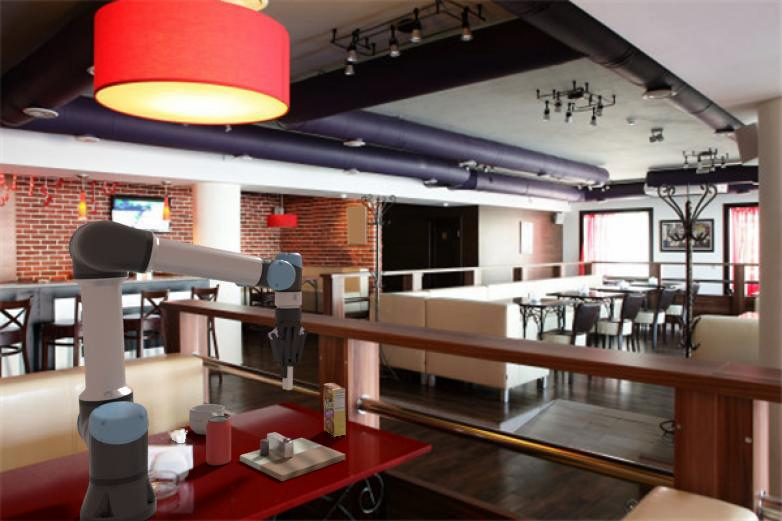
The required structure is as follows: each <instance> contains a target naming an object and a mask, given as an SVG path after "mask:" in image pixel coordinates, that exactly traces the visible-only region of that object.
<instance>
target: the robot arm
mask: <svg viewBox="0 0 782 521" xmlns="http://www.w3.org/2000/svg"><path fill="white" fill-rule="evenodd" d="M68 253H69V256H70V258H71V264H72V267H71V268H72V269H71V270H72V281H73V282H75V283H76V284H77V285H78V286H79V287H80V295H81V296H80V297H81V298H80V299H81V317H82V321H81V322H82V340H83V341H82V342H83V362H84V379H85V380H84V381H85V382H84V383H85V388H84V390H83V391H82V392H81V393H80V394H79V395H78V408H79V409H78V415H77V420H76V426H77V427H76V428H77V432H78V434H79V436H80V438H81V439H82V440H83V443H85V445H86V447H87V449H88V458H89V460H88V464H89V465H88V466H89V467H88V470H89V471H88V472H89V473H88V474H89V476H88V477H89V478H88V480H89V482H88V487H87V491H86V493H85V497H84V499H83V502H82V505H81V508H80V514H79V521H146V520H148V519H150V517H152V516H153V515H154V514H155V513H156V512H157V510H158V509H157V508H158V506H157V503H158V501H157V494H156V493H155V490H154V488H153V484H152V482H151V479H150V477H149V426H150V421H149V417H148V411H147V408H146V407H145V406H143V405H142V404H140V403H137V402H134V389H133V387H131V386H130V385H128V384H127V380H126V379H127V378H126V360H125V358H126V357H125V356H126V355H125V337H124V335H125V334H124V320H123V319H124V316H123V315H124V314H123V313H124V312H123V310H124V309H123V290H122V287H123V286H122V285H123V283H125V281H127V279H128V278H129V273H136V274H137V273H139V274H146V273H148V272H149V271H154V272H161V273H168V274H175V275H180V276H186V277H193V278H194V277H195V278H199V279H205V280H207V279H208V280H213V281H220V282H226V283H231V284H232V283H233V284H235V286H237V287H239V288H260V289H261V288H262V289H269V290H274V306H276V307H275V308H274V320H275V325H274V328H273V330H272V331H270V332H267V333H266V336H267V338H268V340H269V341H270V345H271V346H270V347H271V353H272V357H273V362H274V364H275V365H276V366H279V367H280V378H282V389H283V390H287V391H291V390H293V380H294V379H293V378H294V377H295V368H296V367H297V366H298V364H299V363H301V362H302V357H303V350H304V347H305V342H306V337H307V335H308V333H309V330H308V329H307V328H306V329H305V328H304V327H303V325H302V323H301V320H302V314H303V313H302V310H303V309H302V307H300V306H302V305H303V303H302V302H303V300H302V299H303V297H302V296H303V287H302V286H303V270H304V269H303V268H304V267H303V261H302V260H303V259H302V255H301V254H300V253H299V252H277V253H276V254H275V255H274V256H275V258H273V259H272V258H267V257H261V256H255V255H251V254H246V253H242V252H236V251H230V250H227V249H221V248H214V247H211V246H204V245H199V244H194V243H190V242H189V243H188V242H183V241H178V240H173V239H168V238H162V237H157V236H156V234H155V233H154V232H153V231H150V230H144V229H140V228H137V227H133V226H130V225H126V224H124V223H121V222H118V221H113V220H107V219H106V220H105V219H103V220H102V219H101V220H96V221H90V222H88V223H84V224H83V225H81V226H79V227H78V228H77V229H75V231H73V233H72V235H71V237H70V239H69V241H68Z"/></svg>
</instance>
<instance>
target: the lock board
mask: <svg viewBox="0 0 782 521" xmlns="http://www.w3.org/2000/svg"><path fill="white" fill-rule="evenodd" d="M291 440H292V439H291ZM292 441H294V456H291V457H289V458H284V457H282V456H281V455H279V454H277V453H275V452H274V451H272V450H270V449H269V440H268V439H267V438H264V439H260V440H259V444H260V446H259V447H260V448H259V449H258V450H253V451H251V452H248V453H244V454H243V453H242V454H241V455H239V461H240V462H242V463H243V464H246V465H248V466H250V467H251V468H254V469H256V470H258V471H260V472H262V473H264V474H266V475H268V476H271V477H272V478H274V479H277V480H279V481H281V482H285V481H288V480H291V479H293V478H295V477H299V476H302V475H305V474H309V473H311V472H313V471H316V470H319V469H322V468H326V467H328V466H331V465H333V464H336V463H340V462H342V460H343V461H345V460H346V453H342V452H340V451H338V450H335V449H333V448H330V447H327V446H324V445H322V444H319V443H317V442H315V441H312V440H309V439H306V438H303V437H300V438H296V439H293V440H292Z"/></svg>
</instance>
